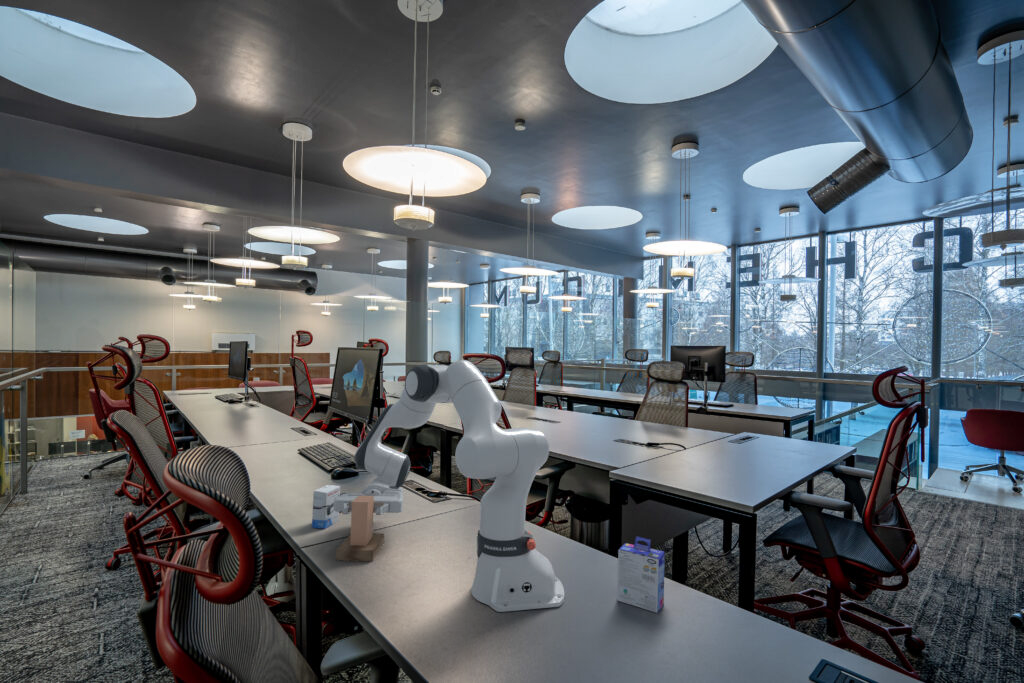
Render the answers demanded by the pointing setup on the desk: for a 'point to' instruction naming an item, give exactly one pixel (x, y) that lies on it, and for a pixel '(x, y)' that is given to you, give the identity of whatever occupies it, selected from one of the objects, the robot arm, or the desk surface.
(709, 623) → the desk surface
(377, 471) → the robot arm
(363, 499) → the terracotta block
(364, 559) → the plinth
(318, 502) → the ink box
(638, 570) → the ink cartridge box
